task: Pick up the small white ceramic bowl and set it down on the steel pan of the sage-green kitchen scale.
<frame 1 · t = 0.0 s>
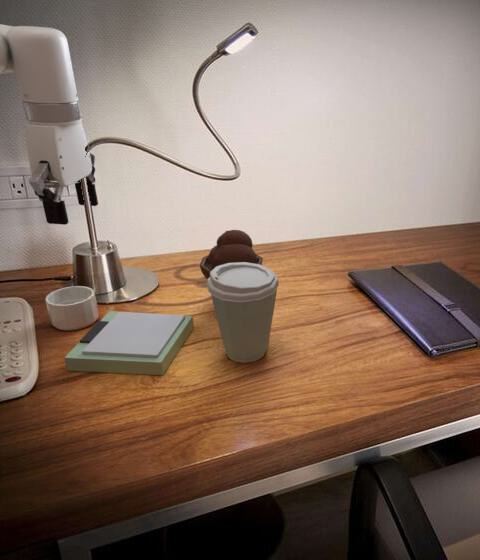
hand: (74, 213, 91), 16 cm above the table, tool pointing down, fingers open, 9 cm apart
scale: (135, 347, 85), on the table
ice cream bowl: (235, 307, 100), on the table
bowl: (76, 320, 91), on the table
disposable coffee cup: (247, 354, 87), on the table
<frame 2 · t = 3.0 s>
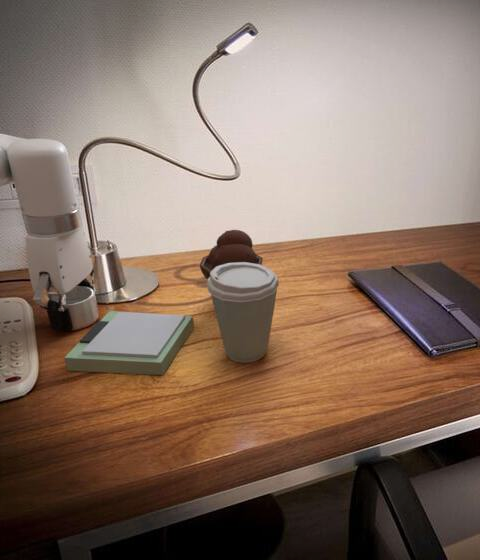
hand: (75, 316, 90), 1 cm above the table, tool pointing down, fingers closed on bowl, 7 cm apart
bowl: (76, 320, 91), on the table, touching gripper
everything else where it was.
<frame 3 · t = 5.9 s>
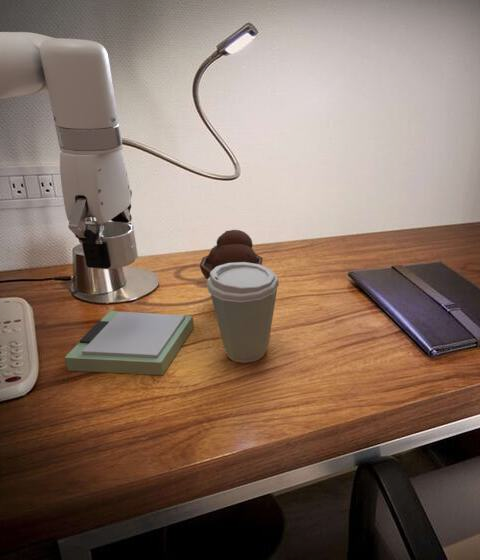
hand: (111, 255, 80), 16 cm above the table, tool pointing down, fingers closed on bowl, 7 cm apart
bowl: (112, 260, 80), point 15 cm above the table, touching gripper
everything else where it was.
when the fingers open (4 cm above the table, at t = 9.3 s): bowl stays where it is, resting on scale.
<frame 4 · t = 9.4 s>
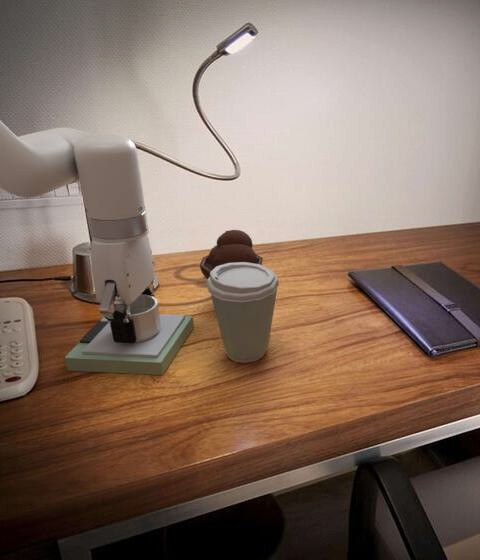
hand: (136, 327, 84), 4 cm above the table, tool pointing down, fingers open, 7 cm apart
bowl: (137, 331, 84), point 3 cm above the table, touching scale
everything else where it was.
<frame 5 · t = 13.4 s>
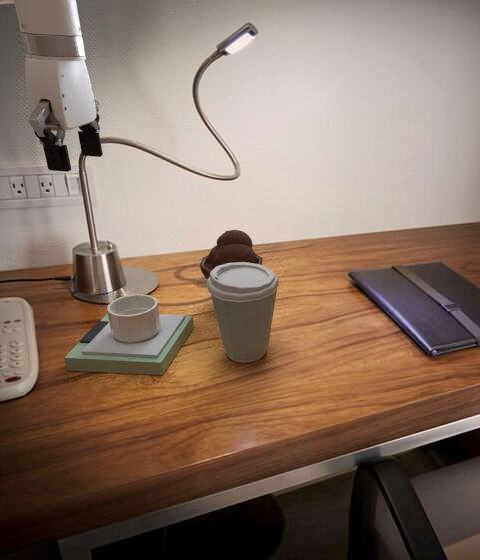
hand: (77, 162, 85), 26 cm above the table, tool pointing down, fingers open, 9 cm apart
nothing on the table moved.
at the end: bowl inside the target area on the scale (0.1 cm from its centre), point 3.0 cm above the scale's base; bowl tilted 0°; the gripper is holding nothing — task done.
